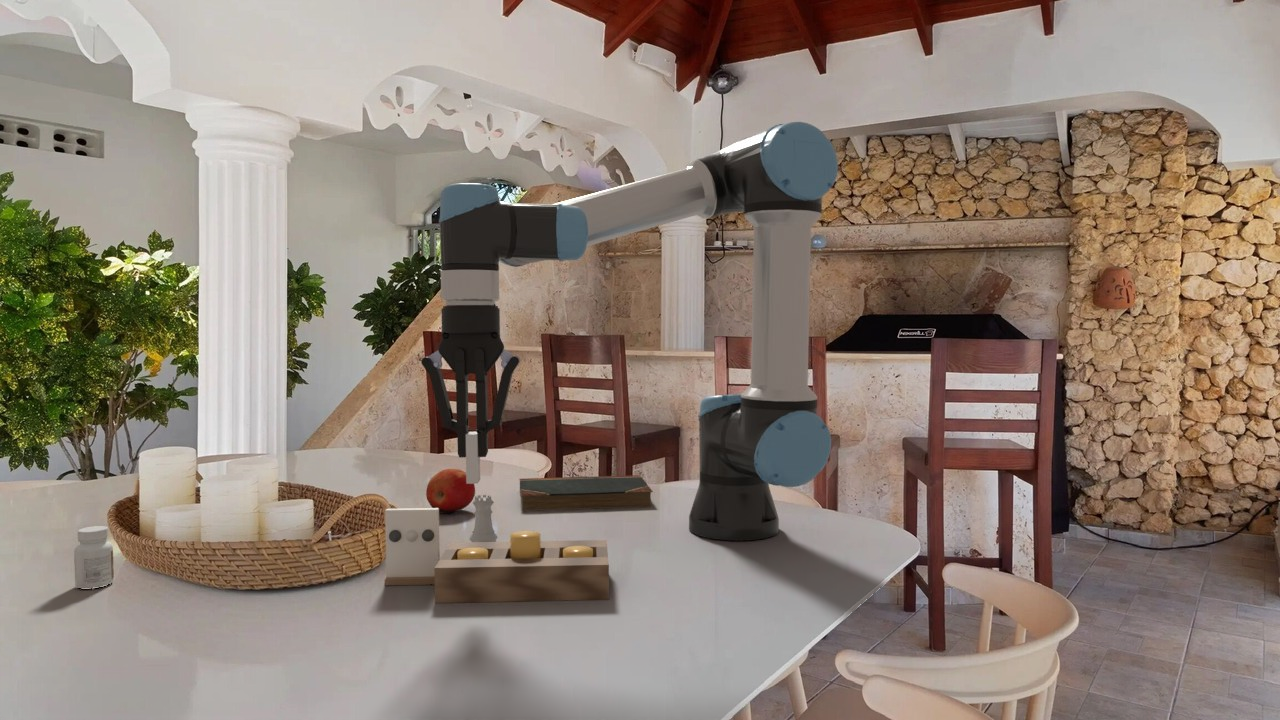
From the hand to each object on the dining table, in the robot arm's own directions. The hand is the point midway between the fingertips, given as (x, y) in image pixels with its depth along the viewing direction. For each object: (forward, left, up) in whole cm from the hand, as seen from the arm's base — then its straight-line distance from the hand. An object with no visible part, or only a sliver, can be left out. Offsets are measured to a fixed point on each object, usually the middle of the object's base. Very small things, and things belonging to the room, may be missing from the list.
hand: (473, 481), depth 114 cm
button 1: (0, 0, -14) cm, 14 cm away
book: (-14, -54, -15) cm, 58 cm away
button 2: (-14, 0, -14) cm, 19 cm away
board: (-7, 0, -14) cm, 16 cm away
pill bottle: (+51, -4, -15) cm, 53 cm away
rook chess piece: (+1, -20, -15) cm, 25 cm away
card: (+9, -3, -14) cm, 17 cm away
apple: (+10, -44, -15) cm, 47 cm away
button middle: (-7, 0, -12) cm, 13 cm away
